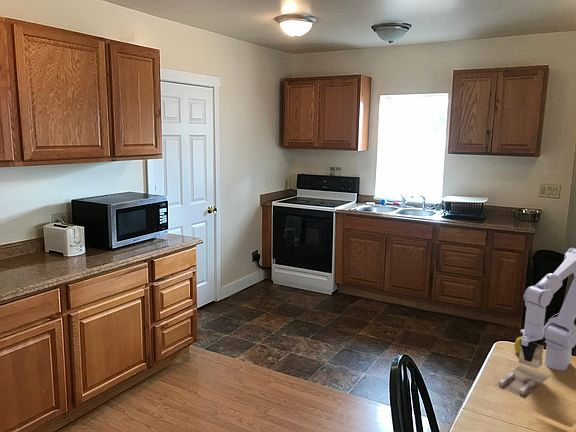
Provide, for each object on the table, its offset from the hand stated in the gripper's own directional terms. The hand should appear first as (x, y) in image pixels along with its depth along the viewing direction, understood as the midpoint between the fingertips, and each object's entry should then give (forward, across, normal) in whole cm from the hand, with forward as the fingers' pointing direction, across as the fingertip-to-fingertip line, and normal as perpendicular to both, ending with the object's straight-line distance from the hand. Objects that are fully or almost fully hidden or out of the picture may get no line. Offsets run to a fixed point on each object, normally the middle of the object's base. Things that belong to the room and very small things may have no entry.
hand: (530, 358), depth 163 cm
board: (+8, +5, 0) cm, 9 cm away
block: (+2, 0, 0) cm, 2 cm away
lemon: (+8, -14, -8) cm, 18 cm away
